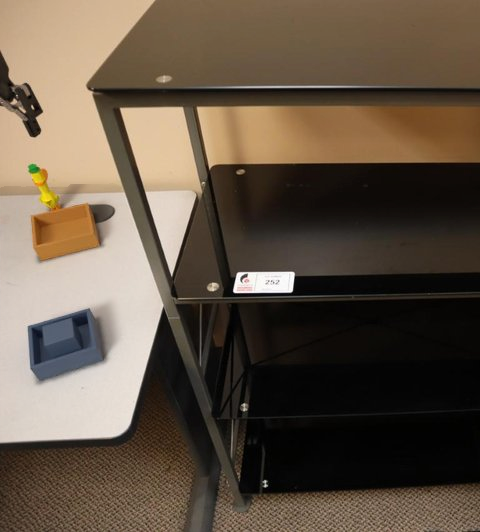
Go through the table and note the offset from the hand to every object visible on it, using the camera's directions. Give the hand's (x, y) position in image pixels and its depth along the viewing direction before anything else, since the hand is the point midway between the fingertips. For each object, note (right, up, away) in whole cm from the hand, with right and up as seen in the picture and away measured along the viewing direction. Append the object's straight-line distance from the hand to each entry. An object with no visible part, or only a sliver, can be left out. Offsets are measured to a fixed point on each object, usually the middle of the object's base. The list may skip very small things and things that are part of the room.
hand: (15, 132), depth 99 cm
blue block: (+17, -40, -11) cm, 45 cm away
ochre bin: (+5, -20, +9) cm, 22 cm away
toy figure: (-2, -13, +15) cm, 20 cm away
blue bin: (+17, -41, -10) cm, 45 cm away
